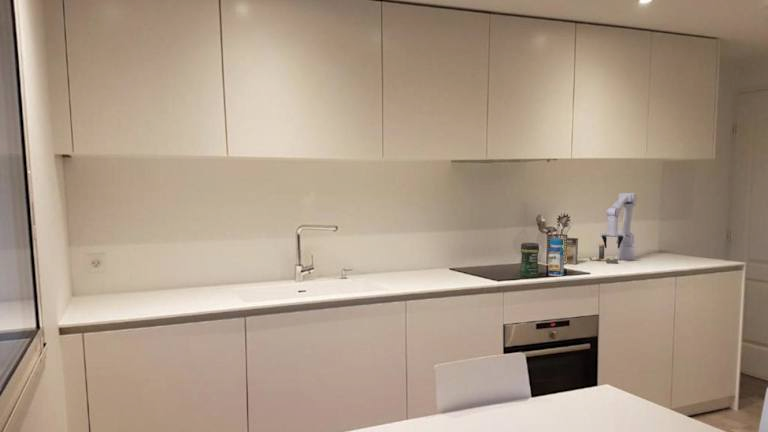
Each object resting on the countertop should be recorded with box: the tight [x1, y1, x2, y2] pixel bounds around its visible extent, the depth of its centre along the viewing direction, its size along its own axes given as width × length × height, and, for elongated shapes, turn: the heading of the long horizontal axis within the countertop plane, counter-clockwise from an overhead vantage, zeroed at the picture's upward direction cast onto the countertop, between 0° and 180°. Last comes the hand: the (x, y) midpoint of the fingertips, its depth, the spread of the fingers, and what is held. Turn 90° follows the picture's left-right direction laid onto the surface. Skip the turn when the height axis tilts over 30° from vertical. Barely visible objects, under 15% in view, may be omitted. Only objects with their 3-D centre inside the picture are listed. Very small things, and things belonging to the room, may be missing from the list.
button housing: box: [605, 258, 619, 265], centre depth 331 cm, size 6×6×2 cm
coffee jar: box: [519, 242, 540, 278], centre depth 286 cm, size 10×8×19 cm
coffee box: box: [566, 237, 579, 265], centre depth 330 cm, size 9×6×16 cm
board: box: [588, 256, 609, 262], centre depth 343 cm, size 12×10×1 cm
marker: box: [598, 243, 605, 259], centre depth 343 cm, size 3×3×10 cm
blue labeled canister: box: [547, 238, 565, 277], centre depth 289 cm, size 8×8×20 cm
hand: (612, 248), depth 331 cm, fingers open, 7 cm apart
